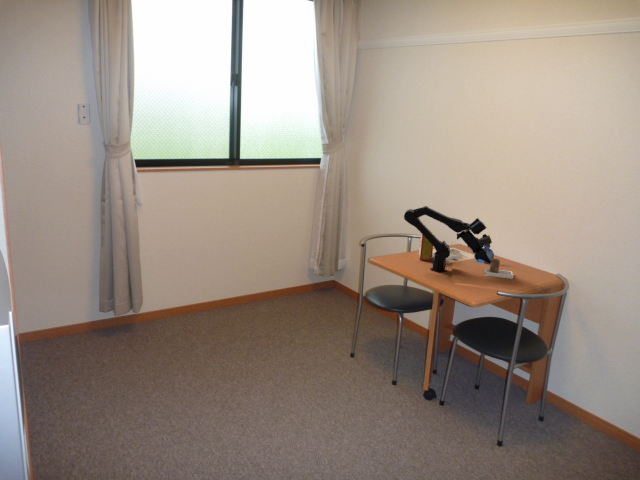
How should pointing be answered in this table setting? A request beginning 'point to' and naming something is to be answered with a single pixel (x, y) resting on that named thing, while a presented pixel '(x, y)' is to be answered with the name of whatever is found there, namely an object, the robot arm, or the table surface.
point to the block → (494, 265)
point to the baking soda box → (425, 249)
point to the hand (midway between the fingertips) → (490, 262)
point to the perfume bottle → (489, 254)
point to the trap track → (500, 274)
